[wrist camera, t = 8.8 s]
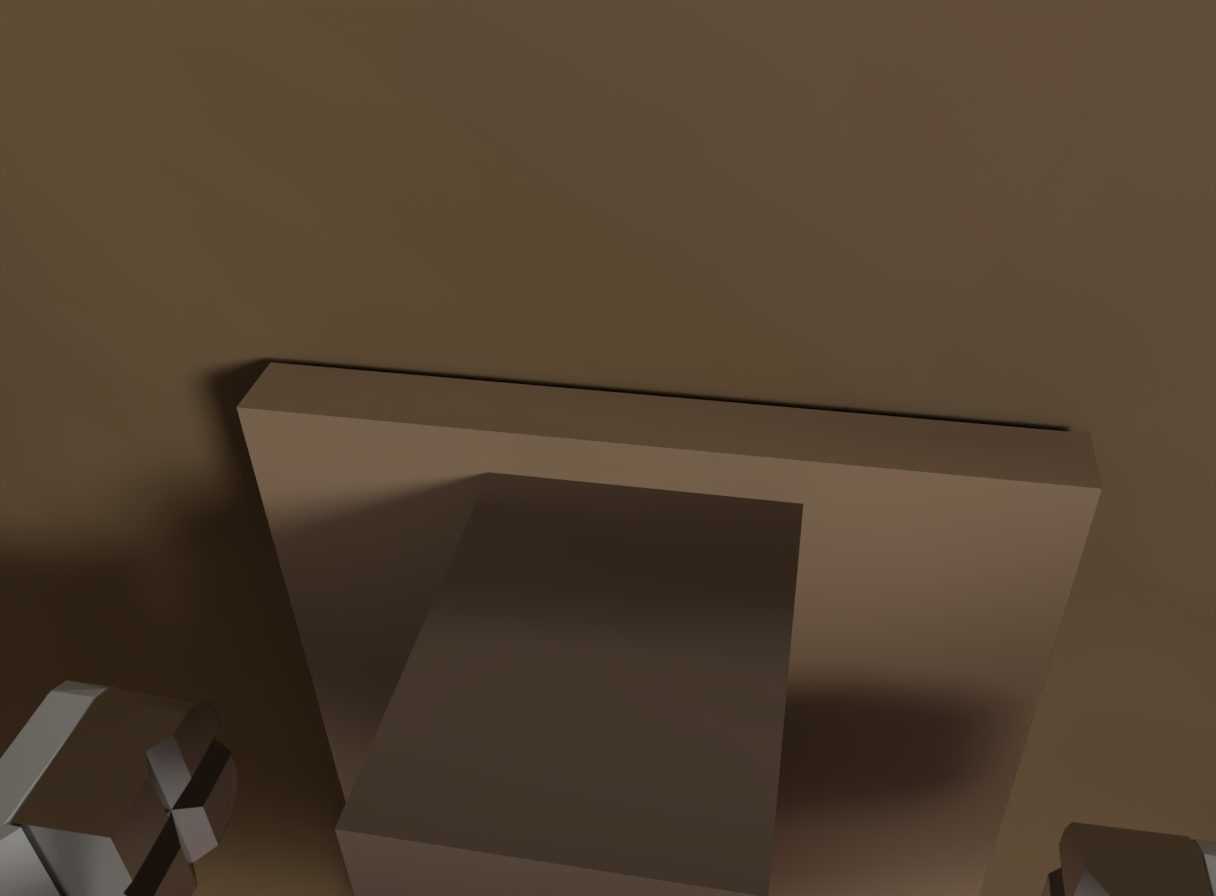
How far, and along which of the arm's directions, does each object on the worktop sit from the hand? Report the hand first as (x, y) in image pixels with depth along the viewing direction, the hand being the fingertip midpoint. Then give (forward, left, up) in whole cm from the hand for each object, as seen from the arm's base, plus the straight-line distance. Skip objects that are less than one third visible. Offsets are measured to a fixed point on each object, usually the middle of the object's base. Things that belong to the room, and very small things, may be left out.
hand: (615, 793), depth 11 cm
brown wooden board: (+7, 0, -3) cm, 8 cm away
